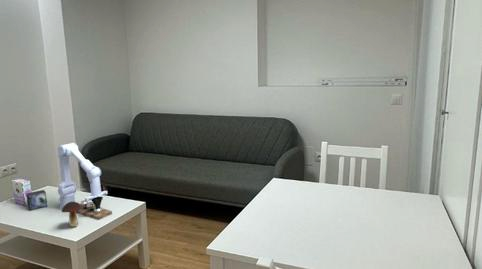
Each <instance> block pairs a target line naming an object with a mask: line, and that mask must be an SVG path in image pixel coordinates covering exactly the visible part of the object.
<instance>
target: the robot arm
mask: <svg viewBox="0 0 482 269" xmlns="http://www.w3.org/2000/svg"><path fill="white" fill-rule="evenodd" d="M57 154H58V159H59V167H60V175H61V176H60V177H61V182H60V183H59V184H58V186H57V187H58V188H57V193H58V196H59V198H58V201H59V208H58V209H59V210H61V211H62V208H63V207H64V206H65V205H66V204H67V203H69V202H76V200H75V194H76V192H77V186H76V183H75V181H72V177H71V169H70V167H71V166H70V158H69V157H70V156H71V157H73V158H75V159H76V160H77V161H78V162H79V163H80V167H81V168H82V170H83V171H84V172H85V173H86V177H87V178H88V179H87V180H88V182H89V186H90V188H89V189H90V194H89V196H86V197H84V200H85V201H88V202H90V201H91V202H93V203H94V205H95V207H96V209H100V207H101V205H102V202H103V201H102V200H103V199H104V198H103V196H105V195H108V190H104V191H102V187H101V179H100V176H102V170H101V168H100V167H98V166H95V165H94V164H93V163H92V162H91V161H90V160H89V159H86V158H85V156H84V155H82V153H81V151H79V146H78V145H77V143H75V142H71V143H65V144H60V145H59V146H58V147H57Z"/></svg>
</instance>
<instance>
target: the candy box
mask: <svg viewBox="0 0 482 269" xmlns="http://www.w3.org/2000/svg"><path fill="white" fill-rule="evenodd" d="M11 186H12V191H13V196H14V203H15V204H17V205H21V206H24V207H26V206H27V207H28V204H27V196H26V194H27V193H31V192H33V191H32V184H31V180H27V179H23V178H17V179H14V180H13V179H12V180H11Z"/></svg>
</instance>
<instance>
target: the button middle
mask: <svg viewBox="0 0 482 269" xmlns="http://www.w3.org/2000/svg"><path fill="white" fill-rule="evenodd" d="M87 207H88V208H90V210H93V207H95V205H94V203H93V202H92V201H88V203H87Z"/></svg>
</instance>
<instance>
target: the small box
mask: <svg viewBox="0 0 482 269" xmlns="http://www.w3.org/2000/svg"><path fill="white" fill-rule="evenodd" d="M26 196H27V204H28V205H27V209H28V210H29V211H35V210H40V209H43V208H47V207H49V206H48V198H47V193H46V191H45V190H44V189H41V190H36V191H32V192H31V193H27V194H26Z"/></svg>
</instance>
